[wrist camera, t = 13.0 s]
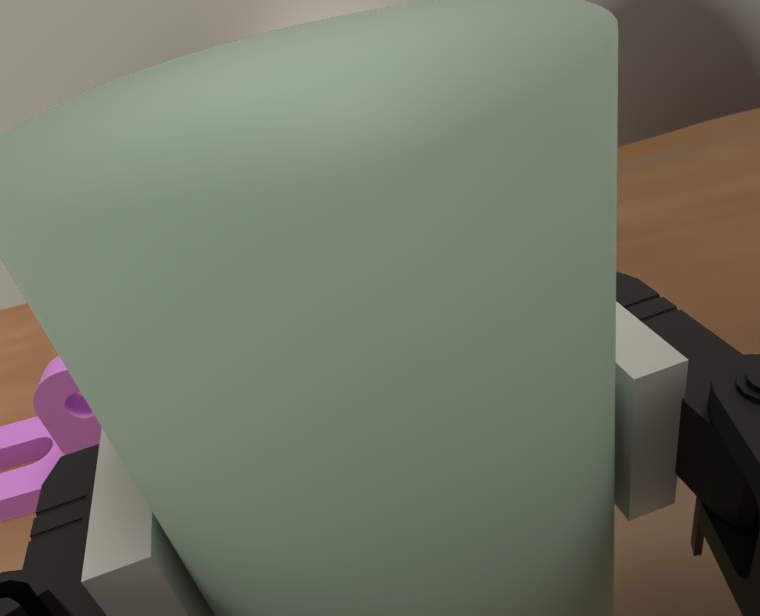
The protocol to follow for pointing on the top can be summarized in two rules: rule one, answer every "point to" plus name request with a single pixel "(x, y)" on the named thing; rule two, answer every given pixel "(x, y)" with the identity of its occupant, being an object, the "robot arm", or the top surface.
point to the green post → (349, 304)
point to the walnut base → (667, 565)
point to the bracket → (43, 439)
